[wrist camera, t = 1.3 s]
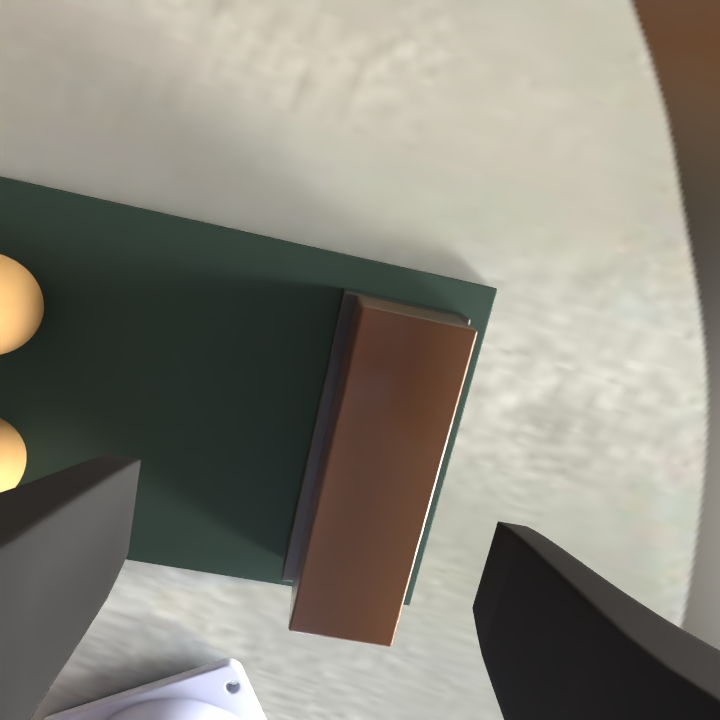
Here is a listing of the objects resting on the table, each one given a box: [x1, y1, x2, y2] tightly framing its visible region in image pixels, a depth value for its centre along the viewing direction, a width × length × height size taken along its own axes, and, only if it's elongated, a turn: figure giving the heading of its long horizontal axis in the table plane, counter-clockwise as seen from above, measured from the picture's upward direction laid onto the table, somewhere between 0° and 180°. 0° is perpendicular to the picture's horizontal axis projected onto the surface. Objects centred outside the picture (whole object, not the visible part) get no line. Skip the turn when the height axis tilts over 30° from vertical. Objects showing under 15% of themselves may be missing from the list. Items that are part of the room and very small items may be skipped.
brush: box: [281, 288, 477, 646], centre depth 18 cm, size 4×10×4 cm, turn 167°
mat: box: [0, 177, 497, 605], centre depth 19 cm, size 27×12×1 cm, turn 77°
